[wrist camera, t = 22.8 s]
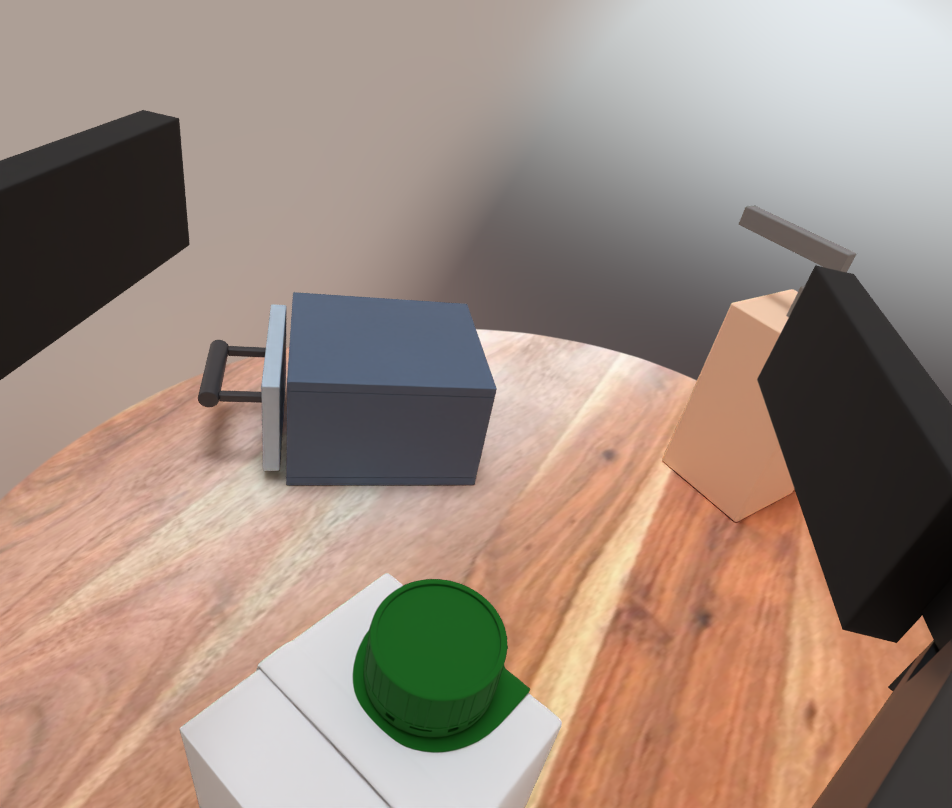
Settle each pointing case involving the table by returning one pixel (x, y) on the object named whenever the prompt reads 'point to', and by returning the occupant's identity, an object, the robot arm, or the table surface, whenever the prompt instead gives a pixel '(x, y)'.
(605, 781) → the table surface
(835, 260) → the soap dispenser
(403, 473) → the blue drawer cabinet
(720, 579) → the table surface
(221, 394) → the drawer
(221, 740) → the milk carton
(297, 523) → the table surface
